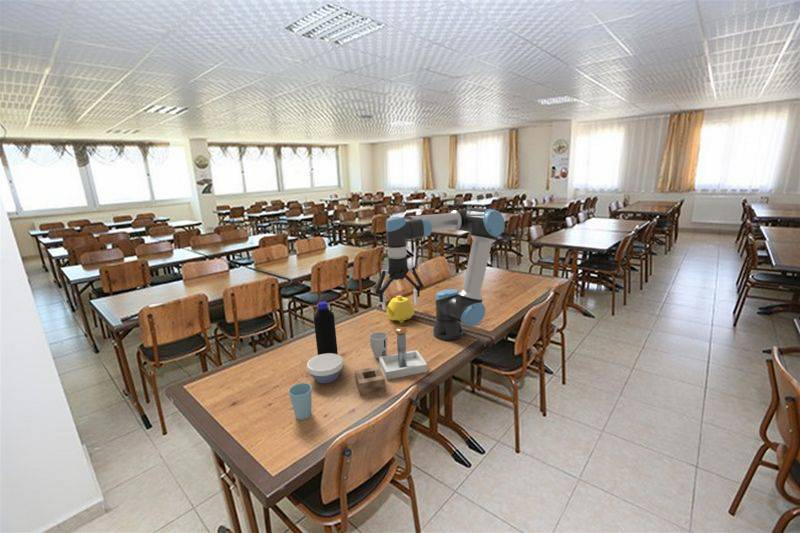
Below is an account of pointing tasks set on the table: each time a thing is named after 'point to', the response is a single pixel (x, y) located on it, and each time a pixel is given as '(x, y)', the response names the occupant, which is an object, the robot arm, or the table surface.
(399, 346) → the pin
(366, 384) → the socket block
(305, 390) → the cup
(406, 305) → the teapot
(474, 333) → the table surface
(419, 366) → the tray
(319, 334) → the bottle
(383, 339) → the cup
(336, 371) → the bowl
